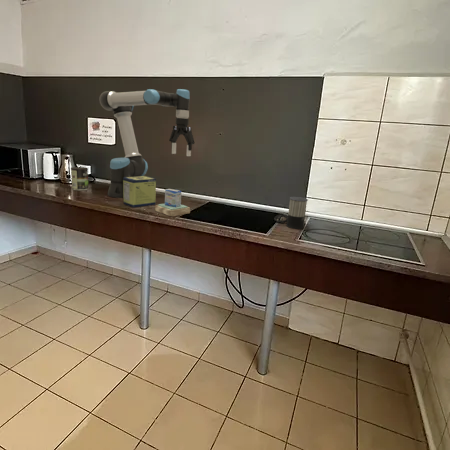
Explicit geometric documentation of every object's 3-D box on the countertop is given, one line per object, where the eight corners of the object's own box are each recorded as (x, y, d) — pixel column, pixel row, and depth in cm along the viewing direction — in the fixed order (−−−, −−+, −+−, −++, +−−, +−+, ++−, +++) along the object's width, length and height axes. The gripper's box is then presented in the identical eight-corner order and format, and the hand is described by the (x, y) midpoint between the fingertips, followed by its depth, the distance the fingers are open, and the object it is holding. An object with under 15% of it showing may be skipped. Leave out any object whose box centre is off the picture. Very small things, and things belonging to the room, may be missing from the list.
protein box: (156, 204, 195) (156, 178, 191) (133, 207, 184) (133, 180, 180) (145, 201, 202) (145, 175, 198) (122, 204, 191) (122, 177, 186)
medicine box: (164, 205, 180) (164, 189, 178) (169, 203, 184) (170, 188, 182) (176, 207, 177) (176, 191, 174) (181, 206, 181) (181, 190, 178)
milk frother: (304, 230, 166) (308, 201, 162) (272, 226, 169) (275, 197, 165) (303, 223, 179) (307, 196, 175) (274, 219, 182) (277, 192, 178)
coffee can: (91, 188, 227) (90, 167, 223) (84, 191, 217) (83, 169, 213) (76, 187, 227) (75, 166, 223) (69, 189, 217) (67, 168, 213)
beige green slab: (155, 210, 181) (155, 205, 180) (173, 207, 191) (173, 202, 190) (171, 216, 172) (171, 210, 172) (190, 213, 182) (190, 207, 181)
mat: (157, 205, 180) (157, 204, 180) (173, 203, 188) (173, 202, 188) (171, 210, 173) (171, 209, 173) (187, 207, 181) (187, 206, 181)
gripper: (163, 116, 199) (163, 152, 204) (191, 118, 183) (190, 157, 189) (173, 117, 204) (172, 152, 210) (201, 119, 188) (199, 157, 194)
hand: (181, 155), depth 199 cm, fingers open, 13 cm apart
